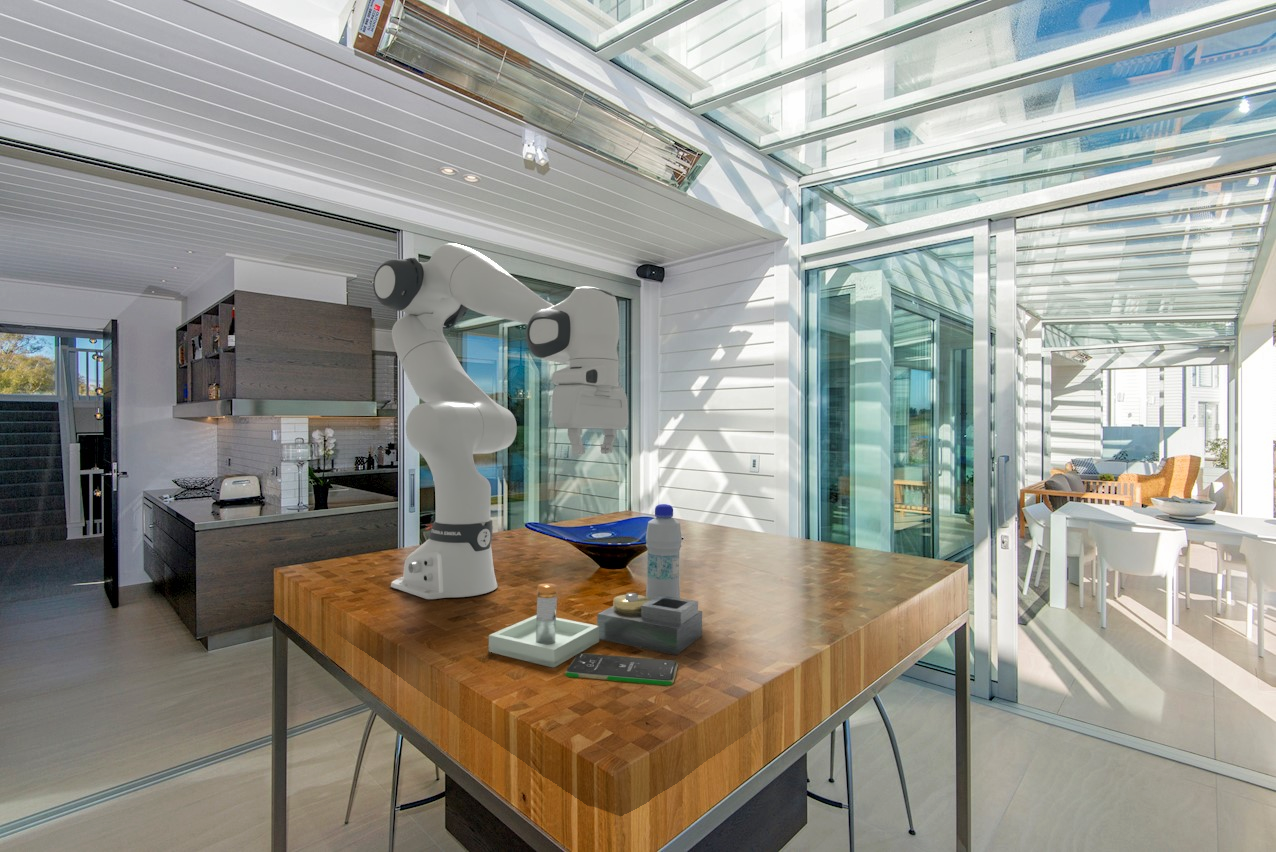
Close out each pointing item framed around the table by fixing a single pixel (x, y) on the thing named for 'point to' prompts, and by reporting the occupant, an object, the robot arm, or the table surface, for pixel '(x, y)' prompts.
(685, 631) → the grey stepped block
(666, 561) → the bottle
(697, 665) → the table surface
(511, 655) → the tray
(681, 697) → the table surface
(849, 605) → the table surface
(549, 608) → the lock pin
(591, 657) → the smartphone
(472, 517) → the robot arm
